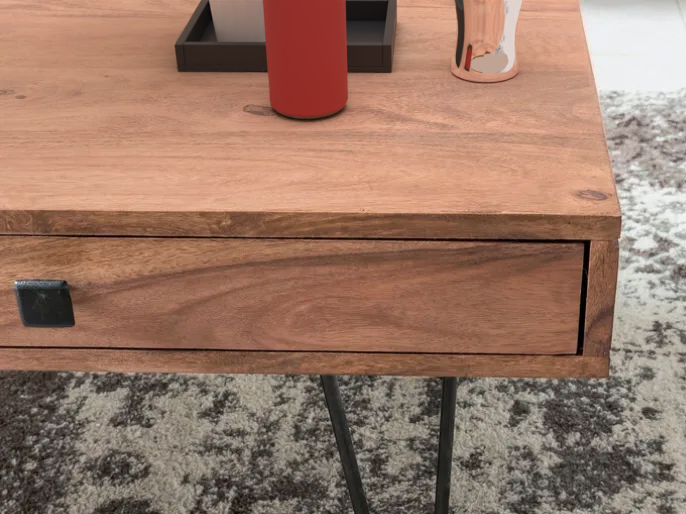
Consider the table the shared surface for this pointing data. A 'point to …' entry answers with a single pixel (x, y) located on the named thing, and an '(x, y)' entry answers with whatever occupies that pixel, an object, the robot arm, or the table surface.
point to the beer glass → (486, 40)
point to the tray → (209, 55)
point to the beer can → (306, 56)
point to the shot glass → (238, 20)
